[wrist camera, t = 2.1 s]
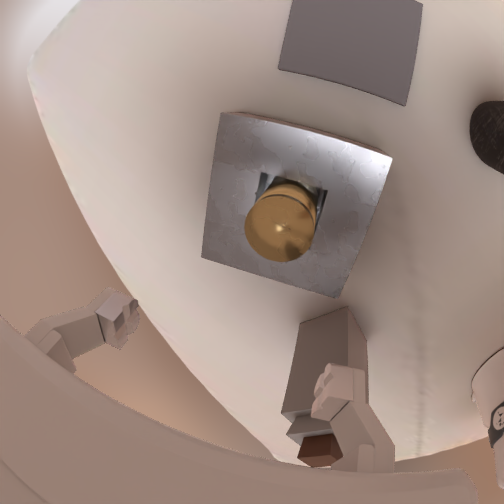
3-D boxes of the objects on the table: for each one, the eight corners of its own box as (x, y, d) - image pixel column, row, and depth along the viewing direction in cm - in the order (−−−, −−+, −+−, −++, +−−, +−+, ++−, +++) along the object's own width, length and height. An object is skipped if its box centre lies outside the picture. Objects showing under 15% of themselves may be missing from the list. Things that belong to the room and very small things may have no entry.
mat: (420, 6, 14) (422, 3, 13) (403, 106, 20) (405, 105, 19) (300, -28, 15) (299, -31, 15) (279, 69, 22) (277, 68, 21)
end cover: (324, 181, 25) (322, 209, 18) (310, 227, 27) (302, 269, 21) (273, 166, 25) (251, 189, 19) (262, 213, 28) (239, 250, 21)
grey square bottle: (299, 323, 35) (270, 452, 20) (347, 306, 32) (342, 445, 17) (322, 354, 37) (304, 472, 22) (366, 340, 34) (365, 466, 18)
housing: (380, 150, 23) (392, 158, 19) (337, 271, 30) (337, 298, 26) (239, 112, 25) (220, 112, 20) (218, 235, 32) (201, 257, 28)
